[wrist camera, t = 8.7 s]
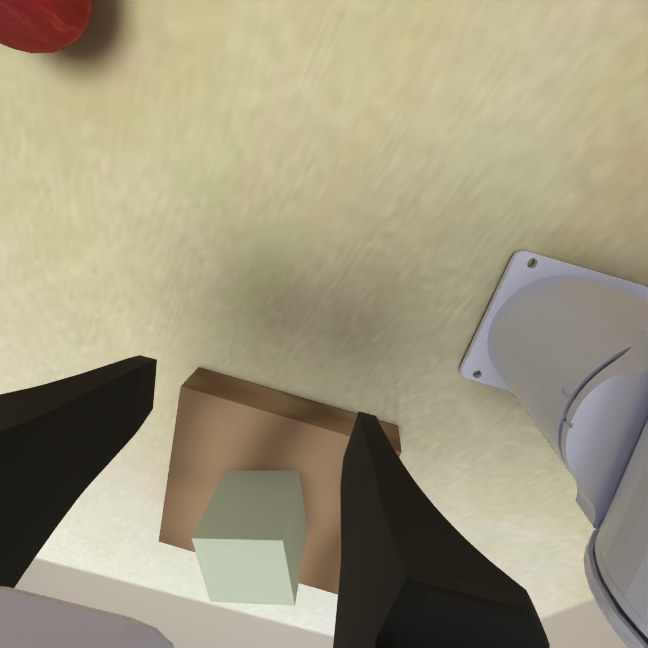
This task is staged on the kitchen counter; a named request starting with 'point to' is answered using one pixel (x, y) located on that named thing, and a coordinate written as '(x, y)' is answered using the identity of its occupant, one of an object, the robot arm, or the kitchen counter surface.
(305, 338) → the kitchen counter surface
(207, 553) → the sage block
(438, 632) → the robot arm
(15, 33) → the onion
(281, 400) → the walnut base
